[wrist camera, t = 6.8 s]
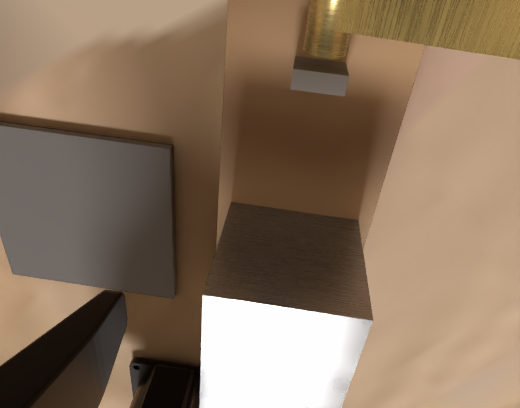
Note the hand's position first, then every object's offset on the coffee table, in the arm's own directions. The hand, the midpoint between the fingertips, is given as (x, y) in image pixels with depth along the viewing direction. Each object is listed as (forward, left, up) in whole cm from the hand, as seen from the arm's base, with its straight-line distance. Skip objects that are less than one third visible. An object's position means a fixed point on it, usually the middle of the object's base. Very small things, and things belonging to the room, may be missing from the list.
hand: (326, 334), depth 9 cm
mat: (-7, +12, -11) cm, 18 cm away
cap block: (-5, +1, -7) cm, 9 cm away
